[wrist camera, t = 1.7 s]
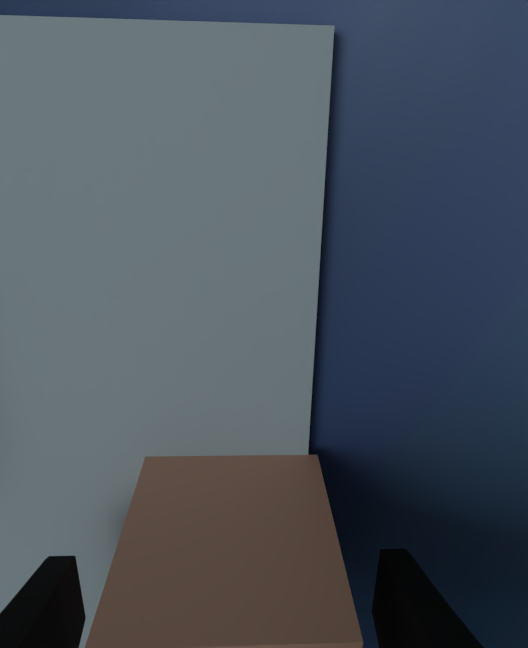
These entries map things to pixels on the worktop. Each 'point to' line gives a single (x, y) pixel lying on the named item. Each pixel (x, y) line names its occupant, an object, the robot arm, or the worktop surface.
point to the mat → (150, 264)
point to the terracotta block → (227, 559)
